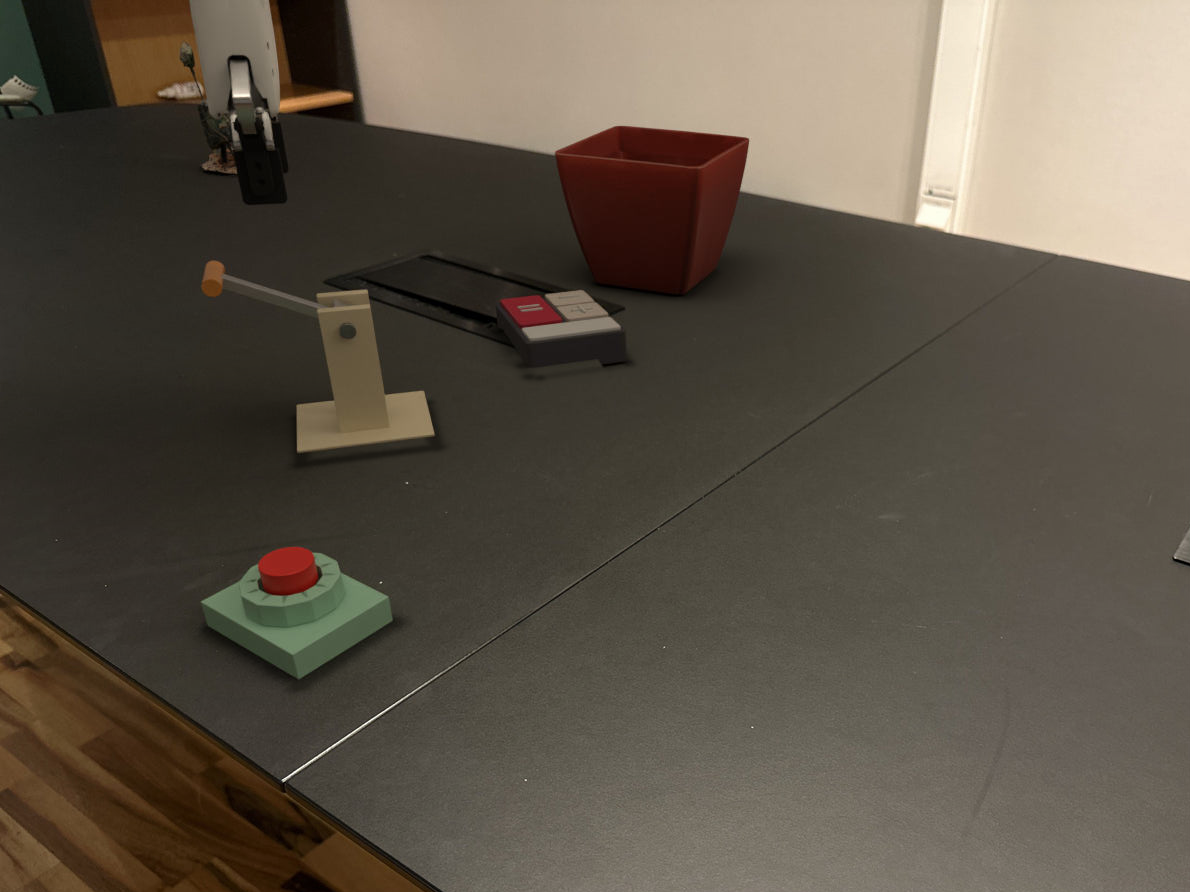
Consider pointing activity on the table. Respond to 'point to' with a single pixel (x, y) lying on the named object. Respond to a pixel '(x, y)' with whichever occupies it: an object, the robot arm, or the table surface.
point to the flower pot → (652, 203)
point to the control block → (298, 617)
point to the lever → (257, 291)
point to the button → (288, 571)
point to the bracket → (357, 386)
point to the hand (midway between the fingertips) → (267, 187)
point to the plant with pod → (212, 126)
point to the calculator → (561, 329)
